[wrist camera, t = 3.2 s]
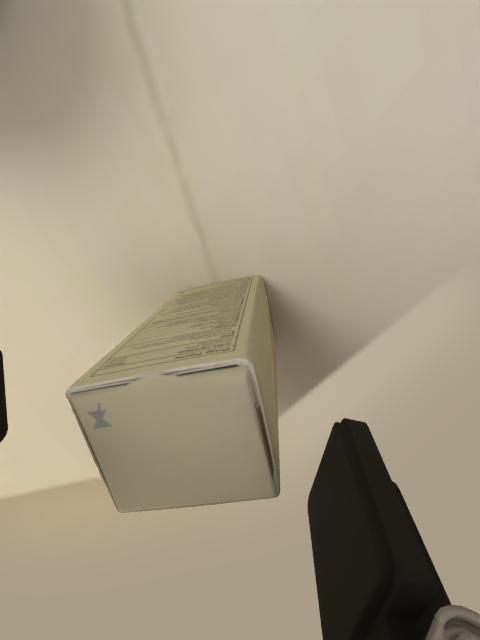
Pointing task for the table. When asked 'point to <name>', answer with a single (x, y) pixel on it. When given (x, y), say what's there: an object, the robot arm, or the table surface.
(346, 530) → the robot arm
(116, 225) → the table surface
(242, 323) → the box
